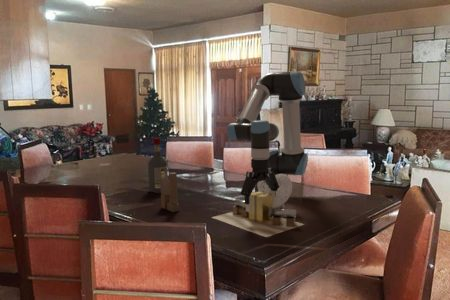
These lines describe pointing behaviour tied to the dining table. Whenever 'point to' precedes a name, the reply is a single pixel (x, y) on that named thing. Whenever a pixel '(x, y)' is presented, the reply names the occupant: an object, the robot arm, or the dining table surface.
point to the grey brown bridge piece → (281, 213)
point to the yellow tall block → (261, 207)
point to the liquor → (156, 168)
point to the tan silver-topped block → (240, 208)
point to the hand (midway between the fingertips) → (260, 208)
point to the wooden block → (169, 193)
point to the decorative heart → (280, 190)
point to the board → (255, 224)
